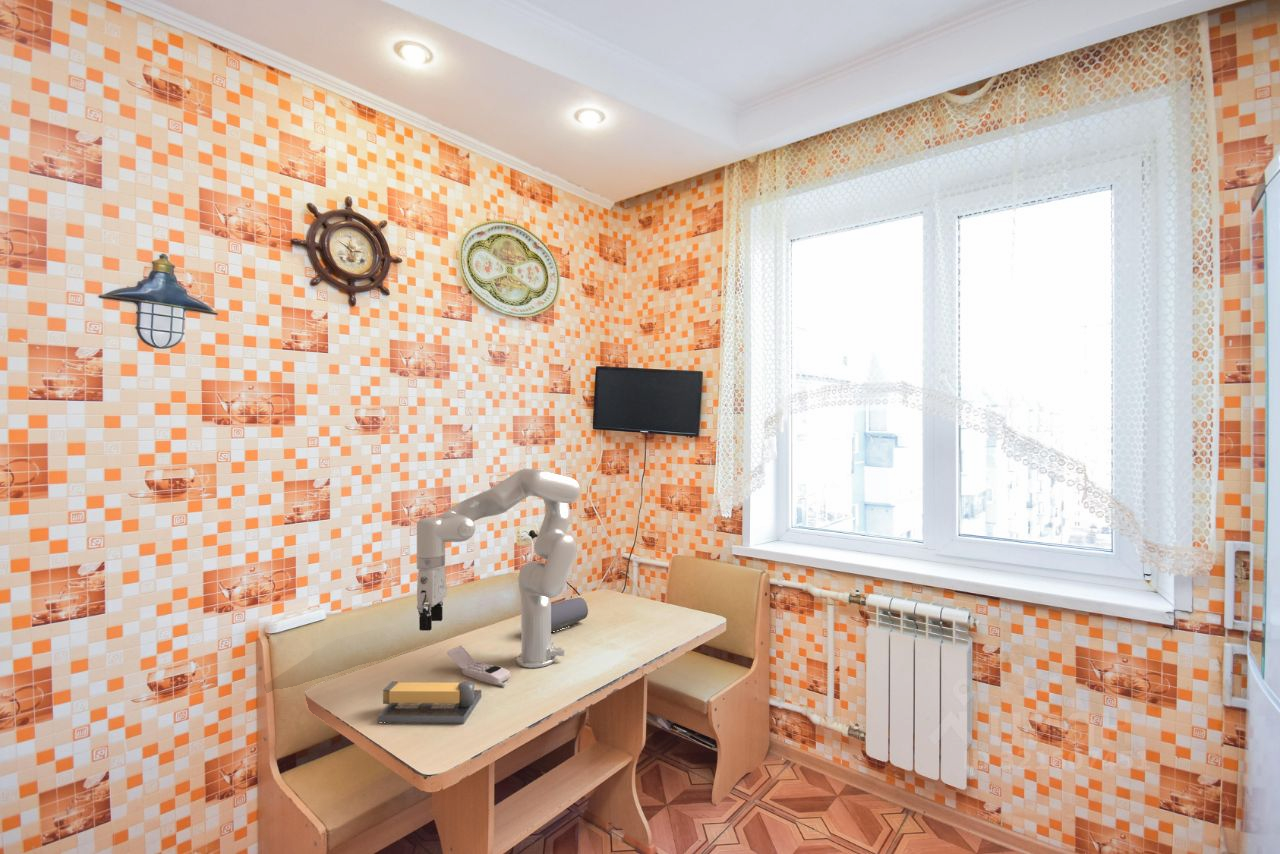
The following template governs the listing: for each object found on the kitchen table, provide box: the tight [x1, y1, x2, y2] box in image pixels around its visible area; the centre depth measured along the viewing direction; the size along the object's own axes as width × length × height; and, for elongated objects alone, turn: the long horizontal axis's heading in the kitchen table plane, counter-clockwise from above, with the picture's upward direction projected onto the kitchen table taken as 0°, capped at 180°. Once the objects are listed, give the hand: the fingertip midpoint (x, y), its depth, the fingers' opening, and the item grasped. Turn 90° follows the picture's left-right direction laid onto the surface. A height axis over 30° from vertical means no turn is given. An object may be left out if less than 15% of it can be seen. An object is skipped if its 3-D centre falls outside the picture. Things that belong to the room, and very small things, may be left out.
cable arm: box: [382, 680, 475, 707], centre depth 144 cm, size 23×5×5 cm, turn 88°
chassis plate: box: [377, 689, 482, 725], centre depth 145 cm, size 22×14×2 cm, turn 88°
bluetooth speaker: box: [551, 597, 589, 632], centre depth 205 cm, size 23×9×10 cm, turn 136°
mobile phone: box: [446, 645, 511, 687], centre depth 166 cm, size 6×6×25 cm
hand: (431, 624), depth 154 cm, fingers open, 6 cm apart
